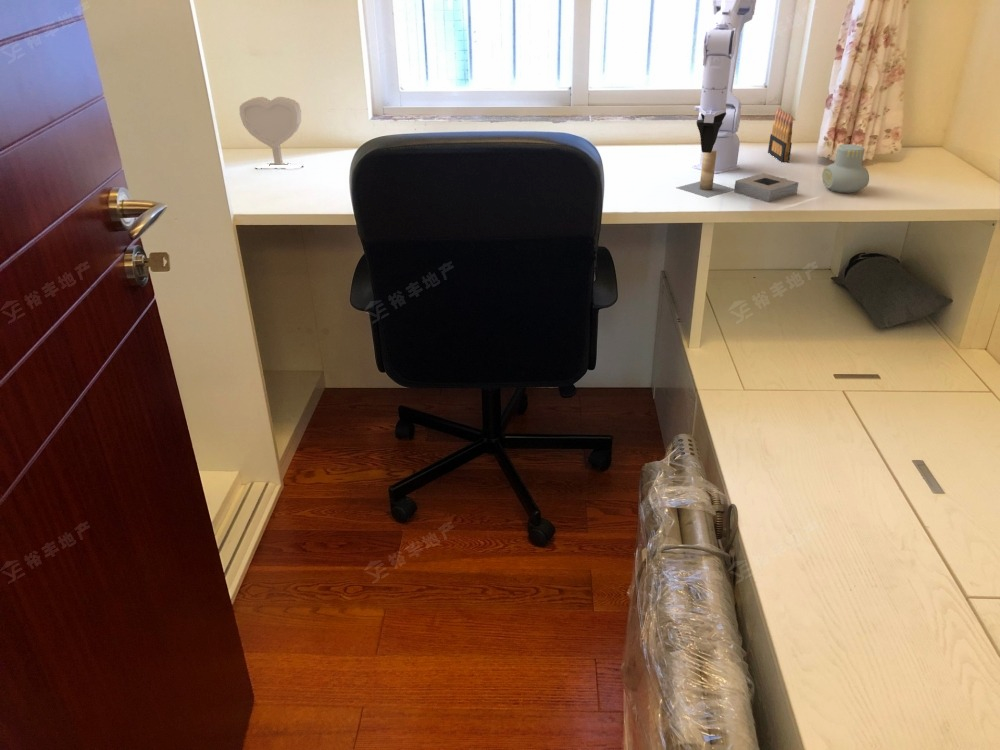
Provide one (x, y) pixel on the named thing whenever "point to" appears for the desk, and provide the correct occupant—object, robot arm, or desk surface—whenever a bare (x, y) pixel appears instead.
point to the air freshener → (846, 170)
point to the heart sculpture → (271, 121)
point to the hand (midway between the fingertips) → (708, 148)
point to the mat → (696, 189)
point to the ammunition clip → (781, 136)
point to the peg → (708, 170)
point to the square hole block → (766, 187)
